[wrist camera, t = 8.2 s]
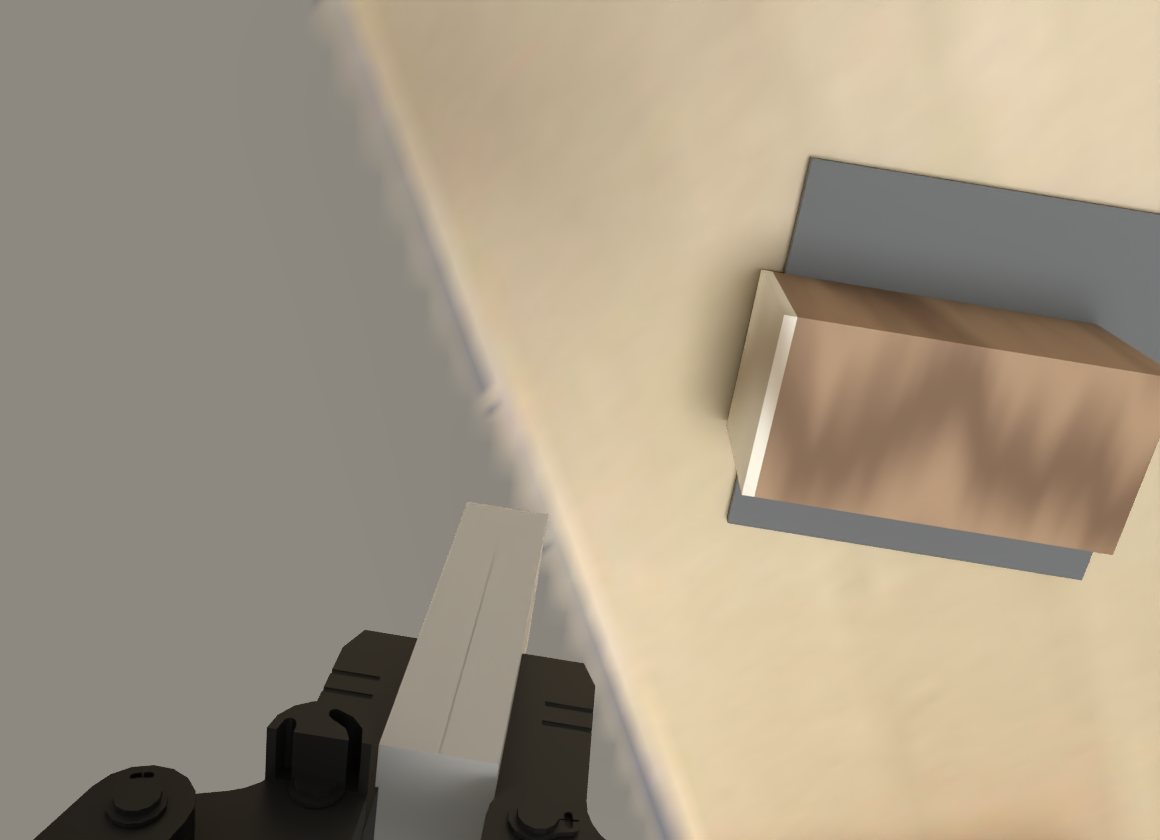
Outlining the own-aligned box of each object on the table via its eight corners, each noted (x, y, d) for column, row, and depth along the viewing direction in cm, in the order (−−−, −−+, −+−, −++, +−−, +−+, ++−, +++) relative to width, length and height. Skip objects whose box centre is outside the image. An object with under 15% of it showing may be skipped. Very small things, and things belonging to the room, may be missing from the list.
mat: (810, 157, 34) (812, 158, 34) (1214, 223, 34) (1220, 225, 34) (726, 518, 39) (728, 523, 39) (1077, 575, 39) (1081, 580, 39)
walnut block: (784, 315, 29) (1183, 379, 30) (761, 269, 35) (1096, 324, 35) (741, 494, 32) (1112, 555, 32) (726, 425, 37) (1042, 476, 37)
